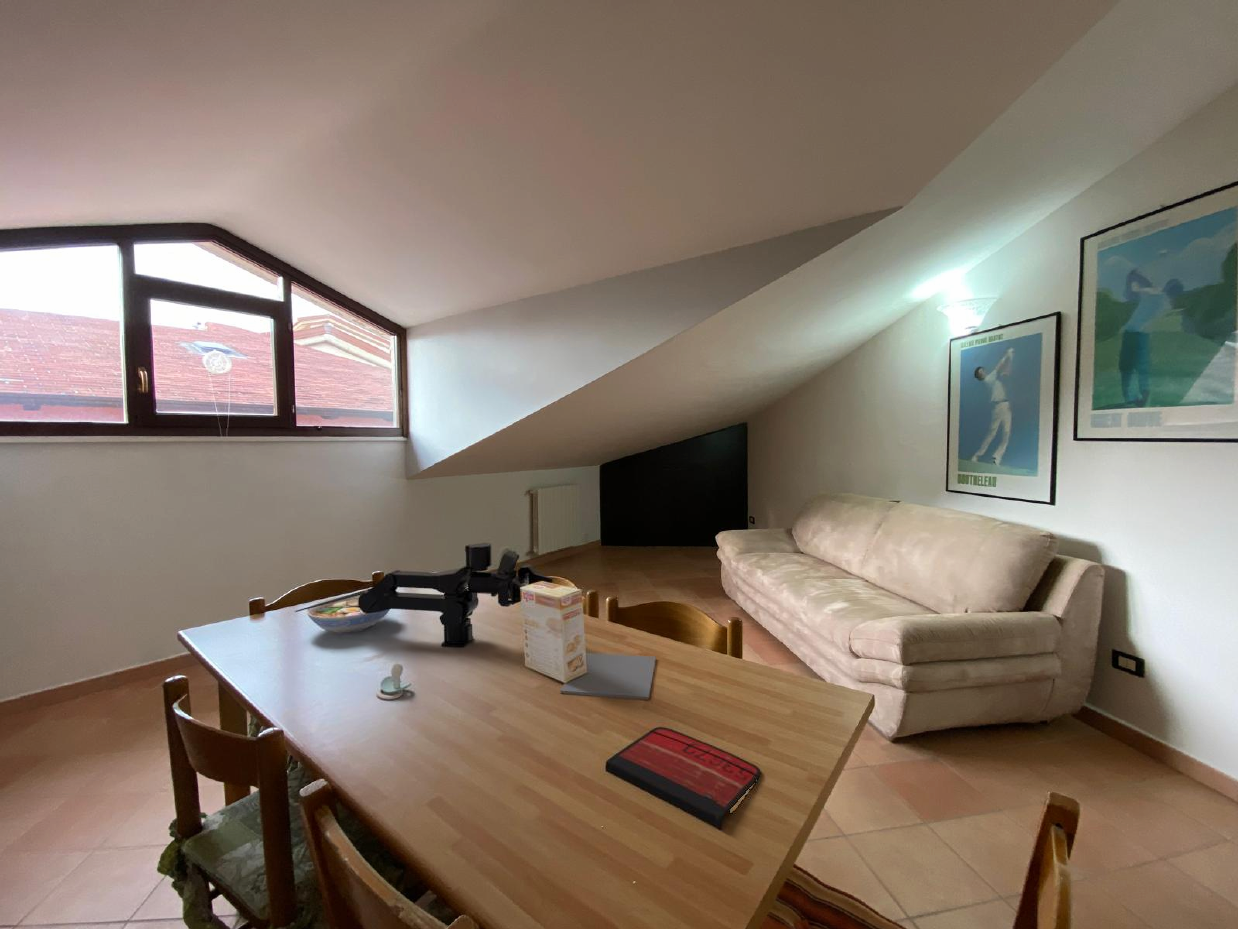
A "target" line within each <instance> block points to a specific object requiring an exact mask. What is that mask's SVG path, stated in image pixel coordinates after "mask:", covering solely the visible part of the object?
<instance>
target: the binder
mask: <svg viewBox="0 0 1238 929" xmlns="http://www.w3.org/2000/svg"><path fill="white" fill-rule="evenodd" d="M605 772H607V773H609V774H611V775H613V776H615V777H617V778H618V779H621V780H623V781H624V782H627V783H628V784H631V785H632V786H634V787H637V788H639V789H640V790H642V791H645V792H646V793H647V794H649V795H652V796H653V797H656V798H657V797H658V798H657V799H659V800H661V801H664V802H665V803H667V802H668V803H667V804H670V805H671V804H672V805H671V806H674V808H675V807H676V808H678V809H679V808H680V809H679V810H681V811H682V812H685V813H687V814H688V815H690V816H692V817H695V818H696V819H698V820H700V821H702V822H704V823H706V824H708V825H710V826H712V827H714V828H716V829H717V830H719V831H722V829H723V828H722V825H723V824H722V823H723V822H722V821H723V817H724V816H725V815H726V814H727V813H729V811H730V809H731V808H732V807H733V806H734V805H735V804H736V803H737V802H738V800H739V799H740V798H741V797H742V796H743V795H744V794H745V793H746V791H747V790H748V789H749V788H750V787H751V786H752V785H753V784H754V783H755V782H756V780H758V779H759V780H760V778H761V773H762V772H761V769H760V767H758V766H757V765H755V764H754V763H752V762H749V761H747V760H745V759H743V758H741V757H739V756H738V755H735V754H732V753H731V752H728V751H726V750H723V749H721V748H719V747H717V746H714V745H712V744H710V743H707V742H704V741H702V740H700V739H697V738H695V737H692V736H690V735H687V734H684V733H682V732H680V731H677V730H674V729H672V728H668V727H666V726H665V727H664V726H658V727H655V728H652V729H651V730H649V731H648V732H646V733H645V734H643V735H642V736H640V737H639V738H637V739H636V740H634V741H632V742H631V743H630V744H628V745H627V746H626V747H624V748H623V749H621V750H619V751H618V752H617V753H615V754H614V755H613V756H611V757H610V758H609V759H607V760H606V761H605ZM759 777H760V778H759ZM759 780H758V781H759ZM756 783H757V782H756ZM749 790H750V789H749ZM730 814H731V815H733V813H729V815H730Z"/></svg>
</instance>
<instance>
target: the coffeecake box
mask: <svg viewBox="0 0 1238 929" xmlns="http://www.w3.org/2000/svg"><path fill="white" fill-rule="evenodd" d="M520 593H521V601H520V606H521V619H522V621H521V622H522V636H523V650H524V651H523V652H524V664H525V665H524V666H525V667H526V668H529V669H532V670H533V671H536V672H538V673H541V674H543V675H545V676H548V677H550V678H552V679H555V680H557V681H560V682H562V683H563V684H564V683H567V682H568V681H570V680H572V679H574V678H576V677H579V676H581V675H583V674H585V673H587V666H586V653H587V651H586V636H585V624H584V622H585V621H584V608H583V605H584V604H583V590H582V589H580V588H575V587H570V586H565V585H561V584H557V583H553V582H552V583H548V582H544V581H540V582H536V583H533V584H530V585H527V586H523V587H520Z"/></svg>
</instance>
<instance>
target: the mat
mask: <svg viewBox="0 0 1238 929" xmlns="http://www.w3.org/2000/svg"><path fill="white" fill-rule="evenodd" d="M656 660H657V656H648V655H647V656H646V655H631V654H616V653H615V654H614V653H598V652H597V653H596V652H586V666H587V673H585V674H583V675H581V676H579V677H576V678H574V679H572V680H570V681H568V682H567V683H564V682H563V685H562V687H561V689H560V694H565V695H577V696H579V695H581V696H590V697H591V696H593V697H603V698H604V697H606V698H620V699H632V700H633V699H634V700H644V699H646V700H647V701H649V699H650V694H651V688H652V684H651V683H652V682H653V678H654V673H653V672H654V671H655V666H656V662H655V661H656ZM646 700H645V701H646Z"/></svg>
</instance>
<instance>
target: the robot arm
mask: <svg viewBox="0 0 1238 929" xmlns="http://www.w3.org/2000/svg"><path fill="white" fill-rule="evenodd" d="M464 551H465V565H464V566H462V567H460V568H453V569H449V570H444V571H439V572H438V571H437V572H435V571H413V570H412V571H411V570H409V571H408V570H407V571H406V570H404V571H403V570H399V569H396V570H393V571H390V572H388V573H386V574H385V575H384V576H383V577H382V578H381V579H380V580H378V582H377V583H376V584H375V585H373V586H372V587H371V589H370V588H369V589H370V590H369V591H367V592H365V593H363V594H361V595H360V597H359V599H358V605H359V607H360V609H361V610H362V612H364V613H375V612H381V611H385V610H389V609H390V610H406V611H408V610H409V611H423V612H424V611H426V612H439V613H441V615H440V616H439V620H440V623H441V625H442V626H443V642H441V644H440V646H441V647H453V648H455V647H456V648H457V647H459V648H464V647H465V646H467V644H469V643H470V642H472V640H473V639H474V635H473V623H472V621H471V620H472V618H470V617H471V616H473V613H474V611H475V610H476V609H477V608H478V606H479V597H478V594H480V595H481V594H485V595H490V596H491V597H496V596H497V604H498V605H500V607H504V608H505V607H506V608H509V607H510V606H513V605H515V604H518V603H521V593H520V587H523V586H527V585H530V584H533V583H536V582H540V581H544V582H548V583H553V581H554V579H553V578H551V577H549V576H546V575H543V574H540V573H537V572H536V570H535V569H534V567H533V565H532V564H524V565H522V566H521V567H520V568H519V569H518V570H517V569H515V568H516V565H517V563H518V560H519V559H520V554H518V553H517V552H516V551H515V550H507V551H506V552H504V553H503V554H502V557H501V558H500V562H499V564H498V568H497V570H496V571H487V570H488V568H489V567H491V566H492V564H493V563H492V560H493V559H492V555H493V554H492V543H489V542H481V543H473V544H467V545H465V546H464ZM399 588H409V589H431V590H434V591H437V592H439V593H440V594H436V593H415V592H399V591H397V590H398V589H399ZM390 610H389V611H390Z"/></svg>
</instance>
